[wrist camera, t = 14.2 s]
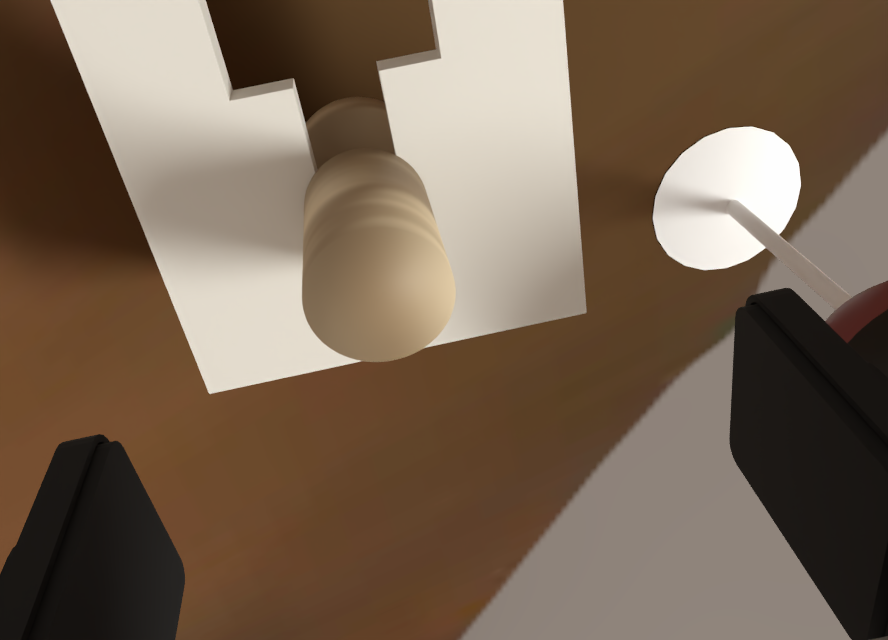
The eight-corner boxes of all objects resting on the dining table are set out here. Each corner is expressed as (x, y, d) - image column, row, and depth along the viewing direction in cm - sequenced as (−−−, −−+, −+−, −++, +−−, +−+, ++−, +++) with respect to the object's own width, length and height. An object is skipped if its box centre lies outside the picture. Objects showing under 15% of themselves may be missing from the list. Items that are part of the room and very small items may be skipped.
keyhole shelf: (53, -254, 26) (-70, -298, 18) (463, -330, 27) (531, -407, 18) (232, 267, 37) (209, 394, 29) (524, 206, 38) (586, 312, 29)
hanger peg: (411, 84, 28) (455, 194, 19) (433, 206, 31) (481, 353, 22) (278, 111, 28) (263, 234, 19) (312, 232, 31) (312, 390, 22)
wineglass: (778, 278, 42) (1097, 576, 25) (623, 269, 40) (852, 582, 23) (836, 130, 38) (1262, 366, 21) (666, 113, 36) (979, 354, 19)
